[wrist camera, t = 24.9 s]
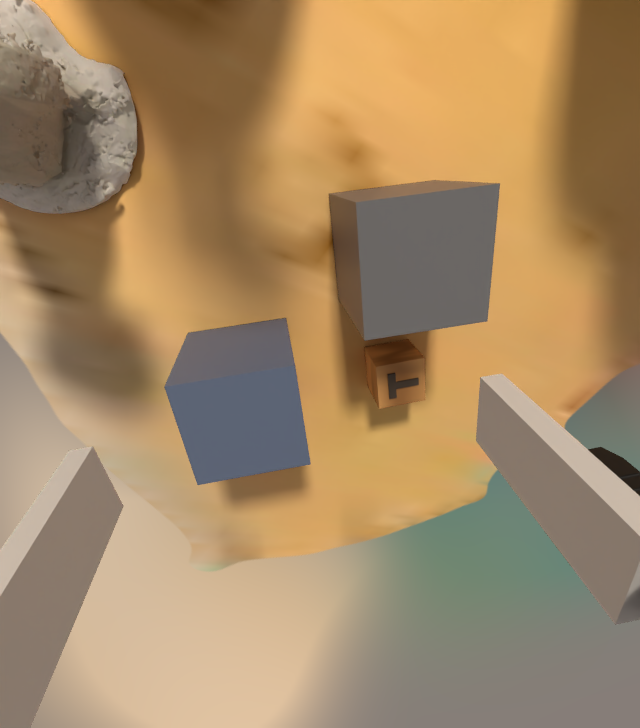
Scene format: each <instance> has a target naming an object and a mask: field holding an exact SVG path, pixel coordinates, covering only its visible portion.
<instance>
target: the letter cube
mask: <svg viewBox="0 0 640 728" xmlns="http://www.w3.org/2000/svg"><path fill="white" fill-rule="evenodd" d="M364 351H365V362H366V373H367V383H368V388H369V389H370V391H371V393H372V395H373V397H374V399H375V401H376V403H377V405H378V407H379V409H381V408H386V407H391V406H396V405H402V404H407V403H412V402H417V401H422V400H425V358H424V356H423V355H422V354H421V353H420V352H419V351H418V350H417V349H416V347H415V346H414V345H413V344H412V343H411V342H410V341H409V340H408V339H406V340H400V341H395V342H390V343H384V344H379V345H373V346H368V347H364Z"/></svg>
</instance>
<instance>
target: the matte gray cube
mask: <svg viewBox="0 0 640 728" xmlns="http://www.w3.org/2000/svg"><path fill="white" fill-rule="evenodd" d="M499 188H500V183H480V182H460V181H440V180H432V181H425V182H417V183H409V184H401V185H393V186H386V187H378V188H370V189H362V190H354V191H346V192H339V193H331V194H329V200H330V211H331V222H332V233H333V245H334V256H335V267H336V278H337V289H338V299H339V301H340V302H341V304H342V306H343V307H344V309H345V310H346V312H347V314H348V315H349V317H350V318H351V320H352V322H353V323H354V325H355V326H356V328H357V330H358V331H359V333H360V334H361V336H362V338H363V339H364V341H366V340H372V339H378V338H385V337H391V336H397V335H403V334H410V333H416V332H422V331H429V330H435V329H441V328H448V327H454V326H460V325H467V324H473V323H479V322H486V321H487V319H488V308H489V297H490V287H491V276H492V265H493V254H494V243H495V232H496V221H497V210H498V199H499Z"/></svg>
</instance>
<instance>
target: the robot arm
mask: <svg viewBox="0 0 640 728" xmlns="http://www.w3.org/2000/svg"><path fill="white" fill-rule="evenodd" d="M476 441H477V443H478V444H479V445H480V446H481V448H482V449H483V450H484V452H485V453H486V454H487V456H488V457H489V458H490V460H491V461H492V462H493V464H494V465H495V466H496V468H497V469H498V470H499V472H500V473H501V474H502V476H503V477H504V478H505V479H506V481H507V482H508V483H509V485H510V486H511V487H512V489H513V490H514V491H515V493H516V494H517V495H518V497H519V498H520V499H521V501H522V502H523V503H524V505H525V506H526V507H527V509H528V510H529V511H530V513H531V514H532V515H533V517H534V518H535V519H536V520H537V522H538V523H539V524H540V526H541V527H542V528H543V530H544V531H545V532H546V534H547V535H548V536H549V538H550V539H551V540H552V542H553V543H554V544H555V546H556V547H557V548H558V549H559V551H560V552H561V554H562V555H563V556H564V557H565V559H566V560H567V561H568V563H569V564H570V565H571V567H572V568H573V569H574V571H575V572H576V573H577V575H578V576H579V577H580V579H581V580H582V581H583V583H584V584H585V585H586V587H587V588H588V589H589V591H590V592H591V593H592V594H593V596H594V597H595V598H596V600H597V601H598V602H599V604H600V605H601V606H602V608H603V609H604V610H605V612H606V613H607V614H608V616H609V617H610V618H611V619H612V621H613V622H614V624H615V625H616V624H621V623H625V622H630V621H634V620H639V619H640V472H639V471H638V470H637V469H636V468H634V467H633V466H632V465H631V464H630V463H628V462H627V461H626V460H625V459H624V458H622V457H620V456H618V455H616V454H614V453H612V452H610V451H608V450H606V449H604V448H602V447H599V448H594V449H588V450H587V449H586V448H585V447H584V446H583V445H582V444H581V443H580V442H578V441H577V440H576V439H575V438H574V437H573V436H572V435H571V434H569V433H568V432H567V431H566V430H565V429H564V428H563V427H562V426H560V425H559V424H558V423H557V422H556V421H555V420H554V419H553V418H551V417H550V416H549V415H548V414H547V413H546V412H545V411H544V410H542V409H541V408H540V407H539V406H538V405H537V404H536V403H535V402H533V401H532V400H531V399H530V398H529V397H528V396H527V395H526V394H524V393H523V392H522V391H521V390H520V389H519V388H518V387H517V386H515V385H514V384H513V383H512V382H511V381H510V380H509V379H508V378H506V377H505V376H504V375H503V374H496V375H491V376H485V377H480V391H479V405H478V419H477V433H476ZM122 508H123V504H122V502H121V500H120V498H119V496H118V494H117V492H116V490H115V489H114V487H113V485H112V483H111V481H110V479H109V477H108V475H107V473H106V471H105V469H104V467H103V465H102V463H101V461H100V459H99V457H98V455H97V453H96V451H95V450H94V448H93V446H92V447H87V448H81V449H75V450H70V451H68V453H67V454H66V456H65V457H64V459H63V460H62V462H61V463H60V465H59V466H58V468H57V469H56V470H55V472H54V473H53V475H52V476H51V478H50V479H49V480H48V482H47V484H46V485H45V486H44V488H43V489H42V491H41V492H40V493H39V495H38V496H37V498H36V499H35V501H34V502H33V504H32V505H31V506H30V508H29V509H28V511H27V512H26V514H25V515H24V517H23V518H22V519H21V521H20V522H19V524H18V525H17V527H16V528H15V530H14V531H13V533H12V534H11V536H10V537H9V538H8V540H7V541H6V543H5V544H4V546H3V547H2V548H1V550H0V728H30V727H31V725H32V722H33V720H34V718H35V715H36V713H37V711H38V708H39V706H40V703H41V701H42V699H43V696H44V694H45V692H46V689H47V687H48V684H49V682H50V679H51V677H52V675H53V673H54V670H55V668H56V665H57V663H58V661H59V658H60V655H61V653H62V651H63V649H64V646H65V644H66V642H67V639H68V637H69V634H70V632H71V630H72V627H73V625H74V623H75V620H76V618H77V615H78V613H79V610H80V608H81V606H82V604H83V601H84V599H85V596H86V594H87V592H88V589H89V587H90V584H91V582H92V580H93V577H94V575H95V573H96V570H97V568H98V565H99V563H100V560H101V558H102V556H103V554H104V551H105V549H106V546H107V544H108V542H109V539H110V537H111V535H112V532H113V530H114V527H115V525H116V523H117V520H118V518H119V515H120V513H121V511H122Z"/></svg>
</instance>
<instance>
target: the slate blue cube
mask: <svg viewBox="0 0 640 728" xmlns="http://www.w3.org/2000/svg"><path fill="white" fill-rule="evenodd" d="M165 390H166V393H167V396H168V399H169V402H170V405H171V408H172V411H173V414H174V416H175V419H176V422H177V425H178V428H179V431H180V434H181V437H182V440H183V443H184V446H185V449H186V452H187V455H188V458H189V461H190V464H191V467H192V470H193V473H194V476H195V479H196V482H197V485H201V484H206V483H211V482H217V481H222V480H228V479H233V478H239V477H244V476H250V475H255V474H261V473H266V472H271V471H277V470H282V469H288V468H293V467H299V466H304V465H310V458H309V451H308V445H307V439H306V432H305V426H304V420H303V413H302V407H301V401H300V394H299V388H298V382H297V375H296V369H295V363H294V358H293V352H292V347H291V342H290V336H289V331H288V326H287V321H286V318H282V319H275V320H269V321H262V322H256V323H249V324H243V325H236V326H230V327H223V328H217V329H210V330H204V331H197V332H191V333H188V334H187V336H186V339H185V341H184V343H183V345H182V348H181V350H180V352H179V355H178V357H177V359H176V361H175V364H174V366H173V368H172V371H171V373H170V375H169V377H168V380H167V382H166V384H165Z"/></svg>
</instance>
